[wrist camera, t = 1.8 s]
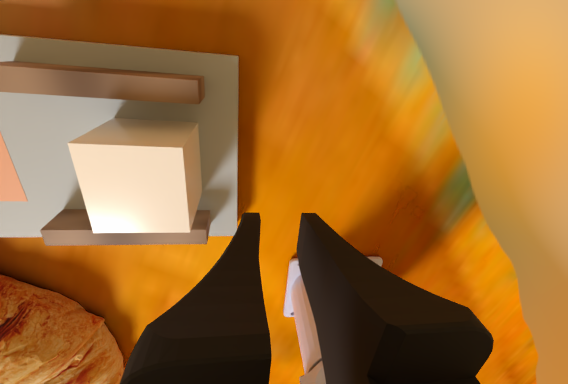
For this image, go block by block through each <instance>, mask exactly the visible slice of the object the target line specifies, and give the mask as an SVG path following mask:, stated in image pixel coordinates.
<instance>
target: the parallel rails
mask: <svg viewBox="0 0 568 384" xmlns="http://www.w3.org/2000/svg"><path fill="white" fill-rule="evenodd" d="M0 92H10V93H25V94H41V95H57V96H73V97H88V98H104V99H120V100H136V101H151V102H167V103H183V104H200V103H201V101H202V100H203V99H204V98H205V86H204V76H198V75H185V74H173V73H160V72H147V71H135V70H122V69H109V68H97V67H84V66H71V65H59V64H46V63H33V62H21V61H5V62H0ZM210 225H211V218H210V210H197V211H196V214H195V217H194V221H193V224H192V228H191V231H190V233H93V230H92V227H91V223H90V220H89V216H88V213H87V209H63V210H62V211H61V212H60V213H58V214H57V215H56V216H55V217H54V218H53V219H52V220H51V221H49V222H48V223H47V224H46V225H45V226H44V227H43V228H42V229H41V230H40V232H41V235H42V237H43V240H44V242H45V245H46V246H55V245H149V244H207V240H208V235H209V230H210Z"/></svg>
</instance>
